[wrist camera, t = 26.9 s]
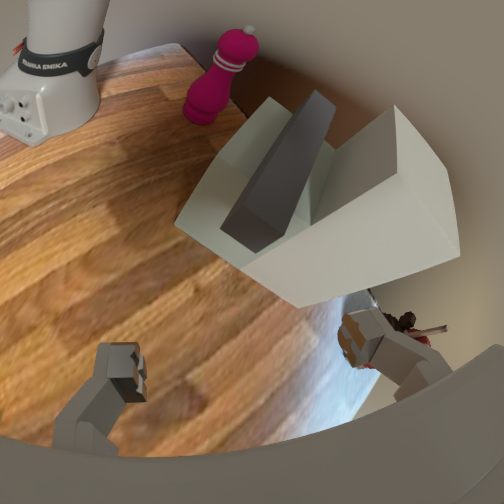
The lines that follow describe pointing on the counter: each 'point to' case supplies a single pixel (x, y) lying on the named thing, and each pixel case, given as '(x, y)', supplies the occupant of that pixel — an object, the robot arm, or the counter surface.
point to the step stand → (334, 210)
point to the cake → (408, 331)
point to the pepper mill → (220, 75)
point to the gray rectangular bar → (280, 177)
